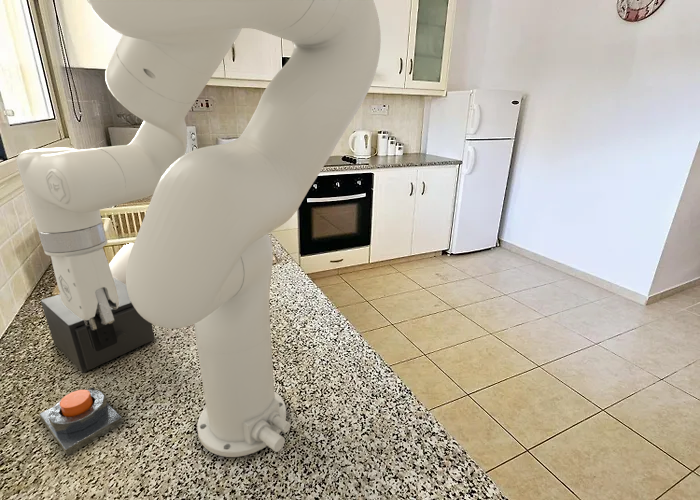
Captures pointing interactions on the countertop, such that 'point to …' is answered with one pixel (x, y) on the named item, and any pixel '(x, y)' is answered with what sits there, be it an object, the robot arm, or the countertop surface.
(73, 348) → the grey drawer box
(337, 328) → the countertop surface
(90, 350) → the dark grey drawer
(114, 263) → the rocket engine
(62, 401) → the button
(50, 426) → the control block
